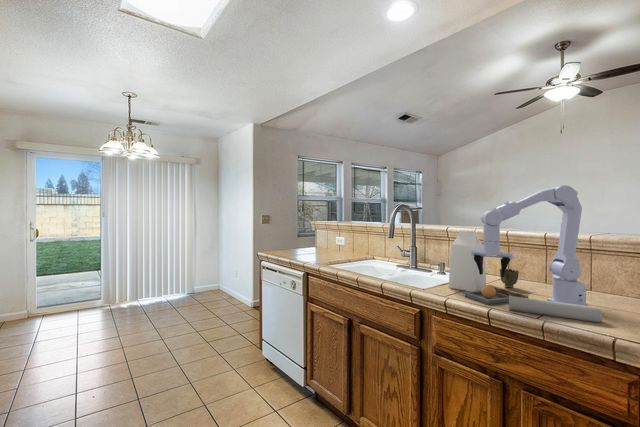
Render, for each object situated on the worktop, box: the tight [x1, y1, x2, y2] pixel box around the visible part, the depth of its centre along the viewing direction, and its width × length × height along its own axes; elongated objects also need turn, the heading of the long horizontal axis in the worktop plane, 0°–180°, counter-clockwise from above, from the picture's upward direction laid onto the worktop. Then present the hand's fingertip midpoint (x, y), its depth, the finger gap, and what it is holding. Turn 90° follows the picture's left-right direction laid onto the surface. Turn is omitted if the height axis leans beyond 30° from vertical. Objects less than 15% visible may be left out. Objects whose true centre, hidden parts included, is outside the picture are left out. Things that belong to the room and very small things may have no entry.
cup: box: [499, 268, 520, 289], centre depth 141 cm, size 8×7×8 cm
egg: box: [480, 284, 496, 298], centre depth 122 cm, size 5×5×5 cm
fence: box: [489, 284, 529, 298], centre depth 125 cm, size 18×1×3 cm, turn 17°
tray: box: [464, 290, 509, 306], centre depth 122 cm, size 12×12×2 cm
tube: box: [508, 295, 604, 323], centre depth 103 cm, size 5×5×25 cm
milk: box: [448, 229, 487, 292], centre depth 141 cm, size 12×12×26 cm
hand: (491, 275), depth 123 cm, fingers open, 7 cm apart
